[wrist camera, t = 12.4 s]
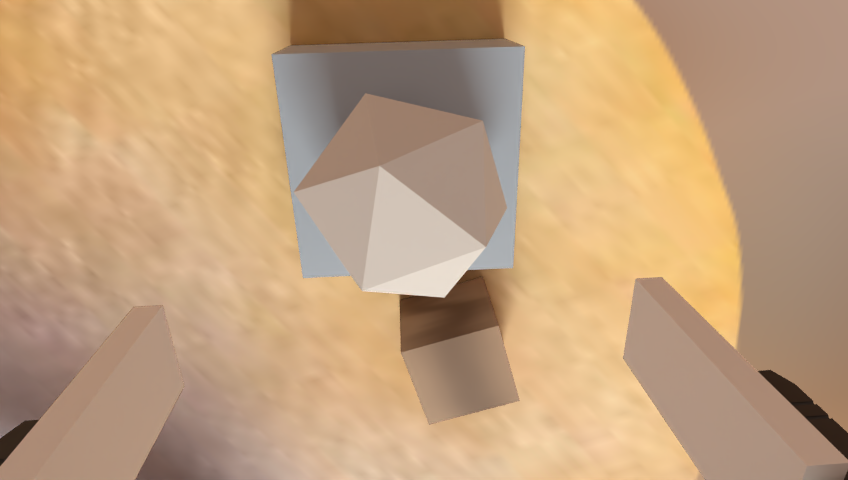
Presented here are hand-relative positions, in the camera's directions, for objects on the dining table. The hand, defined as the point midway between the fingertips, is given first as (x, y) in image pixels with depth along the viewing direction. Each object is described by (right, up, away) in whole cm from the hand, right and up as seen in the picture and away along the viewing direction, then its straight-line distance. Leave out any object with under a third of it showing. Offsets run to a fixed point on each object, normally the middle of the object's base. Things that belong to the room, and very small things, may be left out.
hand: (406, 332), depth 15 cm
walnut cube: (+3, -3, +23) cm, 23 cm away
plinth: (-1, +8, +17) cm, 19 cm away
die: (0, +6, +13) cm, 14 cm away
